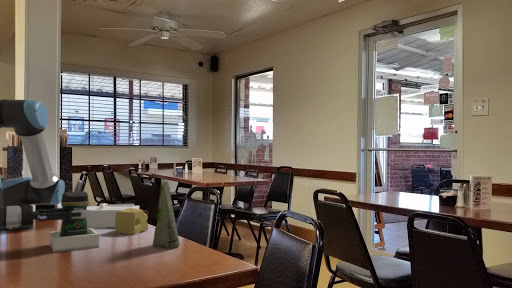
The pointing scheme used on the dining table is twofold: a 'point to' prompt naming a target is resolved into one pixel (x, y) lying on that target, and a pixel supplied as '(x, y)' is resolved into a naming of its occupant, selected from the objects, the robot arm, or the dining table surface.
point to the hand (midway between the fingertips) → (88, 211)
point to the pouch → (165, 221)
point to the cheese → (131, 221)
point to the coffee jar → (74, 203)
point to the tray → (74, 241)
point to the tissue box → (105, 214)
